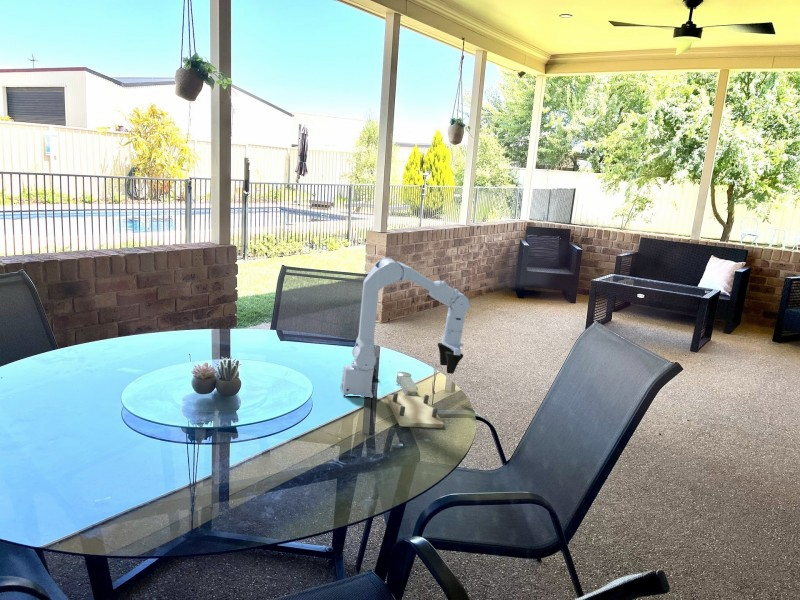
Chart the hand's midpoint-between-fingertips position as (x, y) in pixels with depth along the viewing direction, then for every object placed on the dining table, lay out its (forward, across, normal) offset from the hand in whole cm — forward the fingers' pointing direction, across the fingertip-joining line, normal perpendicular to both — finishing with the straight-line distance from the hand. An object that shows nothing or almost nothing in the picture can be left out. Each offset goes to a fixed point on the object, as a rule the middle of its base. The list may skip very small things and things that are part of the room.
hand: (446, 368), depth 190 cm
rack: (+10, -13, +13) cm, 21 cm away
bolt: (+11, +22, +22) cm, 33 cm away
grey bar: (+10, +6, +11) cm, 16 cm away
